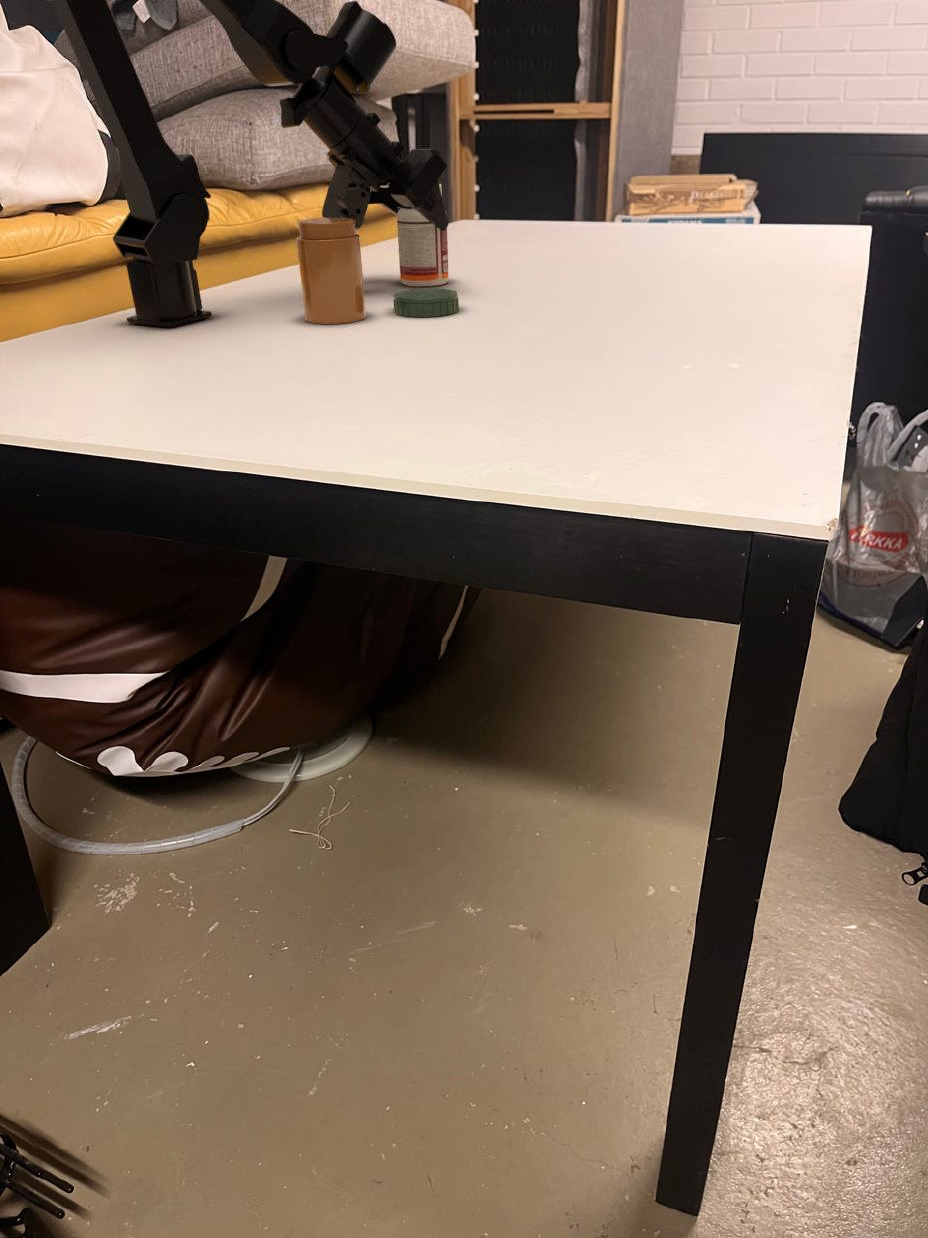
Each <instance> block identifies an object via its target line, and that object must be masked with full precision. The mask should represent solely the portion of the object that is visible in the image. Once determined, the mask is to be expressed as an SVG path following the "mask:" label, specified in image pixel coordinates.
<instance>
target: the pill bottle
mask: <svg viewBox="0 0 928 1238" xmlns="http://www.w3.org/2000/svg"><path fill="white" fill-rule="evenodd" d="M439 186H440V191H441V196H442V197H443V195H442V194H443V193H442V192H443V191H442V184H441V183H439ZM445 212H446V213H447V211H446V210H445ZM396 226H397V243H398V259H399V260H398V263H399V274H400V275H399V276H400V282H401V284H403V285H405V286H408V287H414V288H415V287H417V288H418V287H421V288H422V287H435V286H441V285H444V284H446V283H447V282H448V281H449V245H448V241H449V240H448V227H447V228H446V230H445V231H441V230H440V229H439V228H437V227H436V226H435V225H433V224H432V223H431V222H430V221H429V220H427V219H426V218H425V217H424V216H423V215H421V214H420V213H419V212H418V211H417V210H415V209H414V208H412V209H403V208H401V209H400V210H399V211H398V213H397V215H396Z"/></svg>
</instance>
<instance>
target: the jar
mask: <svg viewBox="0 0 928 1238" xmlns="http://www.w3.org/2000/svg"><path fill="white" fill-rule="evenodd" d="M355 224H356V222H355V221H354V219H352V218H324V217H318V218H307V219H302V220H299V221H298V231H299V236H297V237H296V239H295V240H296V249H297V259H298V264H299V265H298V267H299V276H300V284H301V286H300V287H301V294H302V303H303V304H302V305H303V311H304V320H305V321H306V322H308V323H311V324H317V325H318V324H319V325H340V324H349V323H355V322H359V321H361V320H364V319H365V318H366V316H367V315H366V314H367V313H366V302H365V289H364V288H365V287H364V277H363V261H362V249H361V238H360V237H361V236H360V235H359V234H358V233H356V229H355Z"/></svg>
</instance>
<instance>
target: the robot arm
mask: <svg viewBox="0 0 928 1238" xmlns="http://www.w3.org/2000/svg"><path fill="white" fill-rule="evenodd" d="M198 1H199V2H200V4H202V5H203V7H205V8H206V10H208V12H209V13H211V14H212V16H213V17H214V18H215V19H216V20H217V21H218V23H219V24H220V25H221V27H222V28H223V29H224V31H225V33H226V35H227V37H228V39H229V42H230V44H231V47H232V49H233V51H234V52H235V53H236V55H237V56H238V57H239V59H240V61H242V63H243V64H244V65H245V67H246V68H247V69H248V71H249V72H250V74H251V75H252V76H253V78H255V79H256V81H258V82H260V83H261V84H262V85H264V86H267V87H280V86H289V85H290V86H292V85H299V86H298V87H297V88H296V90H295V91H294V93H293V94H292V96H291V97H285V98H281V99H280V100H279V105H280V112H281V114H280V126H281V127H282V128H283V129H289V128H295V127H300V126H301V125H302V124H303V122H304V123H305V125H306V126H307V127H308V128H309V129H310V130H311V131H312V132H313V134H315V136H317V138H318V139H319V140H320V141H321V142H322V143H323V144H324V145H325V146H326V148H327V149H328V150H329V151H328V152H327V153H326V156H327V157H328V158H327V159H328V161H329V163H330V164H331V165H332V166H333V167H334V169H335V170H334V171H333V174H332V177H331V179H330V181H329V184H328V187H327V191H326V195H325V197H324V198H325V199H324V202H323V205H322V210H321V216H322V218H352V219H354V221H355V222H356V224H355V230H359V229H360V228H361V227H362V226H363V224H364V221H365V216H366V214H367V211H368V208H369V205H379V206H381V207H382V208H384V209H386V210H387V211H389V212H390V213H392V214H393V215H395V216H397V213H398V211H399V210H400V209H401V208H403V209H412V208H414V209H415V210H417V211H418V212H419V213H420V214H421V215H423V216H424V217H425V218H426V219H427V220H429V221H430V222H431V223H432V224H433V225H435V226H436V227H437V228H439V229H440V230H441V231H445V230H446V228H447V229H448V227H449V221H448V215H447V211H446V209H445V205H444V201H443V195H442V196H441V191H440V186H439V184H440V181H439V179H440V178H441V176H442V175H443V173H444V172H445V170H446V169H447V168H448V161H447V159H446V158H445V157H444V156H443V154H442V153H441V152H440V151H439V149H437V148H433V149H432V148H414V149H413V148H412V149H410V151H409V152H408V154H407V155H406V157H405V159H403V160H401V159H400V158H399V157H400V156H401V155H402V153H403V152H404V150H405V146H404V145H402V143H401V142H400V141H397V140H396V141H391V139H390V138H389V137H388V136H387V135H386V133H384V131H383V130H382V129H381V128H380V126H379V124H380V122H381V121H382V120H381V117H379V115H378V114H376V112H367V111H366V110H365V109H364V107H362V105H361V104H360V103H359V101H358V100H357V99H356V98H355V97H354V96H353V95H352V94H356V93H357V92H358V93H362V94H363V93H364V94H366V93H368V92H369V91H370V90H371V88H372V87H373V85H374V84H375V82H376V80H377V79H378V77H379V76H380V75H381V73H382V71H383V70H384V68H385V66H386V65H387V63H388V62H389V60H390V59H391V58H392V56H393V54H394V53H395V51H396V50H397V40H396V36H395V34H394V33H393V31H392V29H391V28H390V26H389V25H388V24H387V23H386V22H383V21H382V20H381V19H380V18H379V17H377V15H375V14H373V13H372V12H370V11H368V10H366V9H364V8H363V7H362V5H360V4H359V2H358V1H357V0H353V1H352V0H351V1H346V2H344V3H343V5H342V7H341V8H340V10H339V12H338V15H337V18H336V19H335V21H334V23H333V24H332V26H331V27H330V28H329V30H328V32H327V33H326V35H323V34H319V33H315V32H314V30H313V29H312V28H311V26H310V25H309V24H308V23H307V22H305V21H304V20H303V18H301V17H299V16H298V15H297V14H295V12H293V11H292V10H290V9H289V8H288V7H287V6H286V5H285V4H284V3H281V2H280V1H278V0H198ZM50 2H51V3H52V5H53V8H54V11H55V12H56V14H57V16H58V19H59V21H60V23H61V25H62V29H63V31H64V33H65V35H66V37H67V39H68V41H69V43H70V46H71V48H72V50H73V53H74V55H75V57H76V59H77V61H78V64H79V66H80V68H81V70H82V72H83V76H84V77H85V79H86V81H87V84H88V86H89V88H90V91H91V92H92V95H93V97H94V100H95V102H96V104H97V106H98V108H99V111H100V113H101V115H102V118H103V120H104V122H105V124H106V126H107V129H108V131H109V133H110V135H111V137H112V141H113V142H114V144H115V147H116V149H117V152H118V156H119V166H120V175H121V176H120V177H121V185H122V188H123V192H124V195H125V200H126V202H127V206H128V209H129V212H128V213H127V215H126V217H125V218H124V220H123V221H122V223H121V224H120V226H119V227H118V229H117V230H116V231H115V233H114V234H113V236H112V241H113V243H114V245H115V247H116V248H117V250H118V252H119V254H120V256H121V257H122V258H124V259H130V260H127V261H125V266H126V267H125V268H126V271H127V277H128V280H129V286H130V291H131V296H132V301H133V306H134V311H135V315H133V316H129V317H126V322H127V323H128V324H138V325H148V326H156V327H167V328H170V327H176V326H179V325H182V324H186V323H191V322H195V321H199V320H203V319H206V318H210V317H212V316H213V312H212V310H211V311H210V310H203V304H202V298H201V297H202V296H201V292H200V286H199V285H200V284H199V278H198V273H197V270H196V269H195V266H194V261H196V260H198V257H199V256H198V255H199V249H200V243H201V237H202V236H203V234H204V233H205V232H206V229H207V227H208V223H209V221H210V218H211V216H210V208H209V205H208V202H207V199H211V198H212V195H211V194H210V193H209V191H208V190H207V189H206V187H205V186H204V184H203V182H202V179H201V176H200V172H199V168H198V164H197V162H196V159H195V157H194V155H192V154H176V152H175V151H174V150H173V149H172V148H171V146H170V145H169V144H168V143H167V141H166V140H165V138H164V135H163V134H162V131H161V129H160V126H159V124H158V121H157V119H156V117H155V114H154V112H153V109H152V107H151V105H150V102H149V99H148V97H147V95H146V93H145V90H144V88H143V85H142V83H141V81H140V78H139V75H138V73H137V71H136V68H135V66H134V64H133V60H132V59H131V56H130V53H129V52H128V49H127V46H126V44H125V41H124V40H123V39H124V38H123V37H122V35H121V32H120V30H119V27H118V24H117V22H116V20H115V18H114V15H113V13H112V10H111V8H110V4H109V3H108V1H107V0H50ZM317 69H318V70H317ZM316 71H317V72H316ZM445 211H446V212H445Z"/></svg>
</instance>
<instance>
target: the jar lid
mask: <svg viewBox="0 0 928 1238" xmlns="http://www.w3.org/2000/svg"><path fill="white" fill-rule="evenodd" d="M458 294H459V293H458V291H456V290H453V289H447V288H433V287H432V288H415V289H407V290H402V291H401V290H400V291H398V292H395V293H394V294H393V311H394V313H395V314H396V315H398V316H402V317H407V318H408V317H409V318H435V317H437V318H438V317H444V316H449V315H453V314H455V313H457V312H458V311H459V308H460V306H459V297H458V296H459V295H458Z"/></svg>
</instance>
